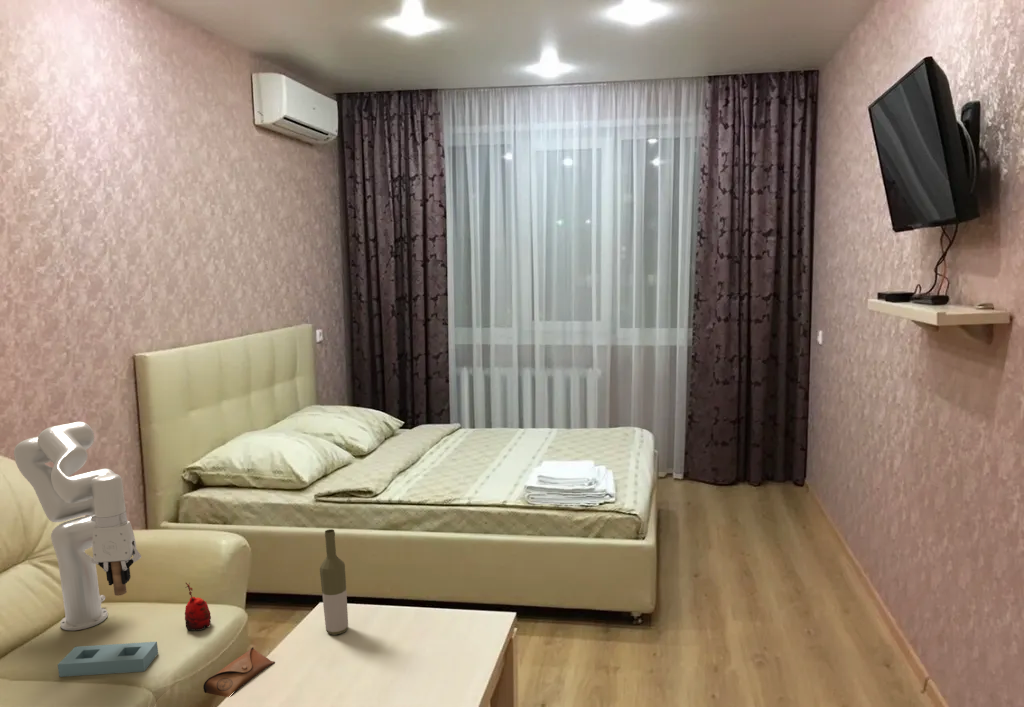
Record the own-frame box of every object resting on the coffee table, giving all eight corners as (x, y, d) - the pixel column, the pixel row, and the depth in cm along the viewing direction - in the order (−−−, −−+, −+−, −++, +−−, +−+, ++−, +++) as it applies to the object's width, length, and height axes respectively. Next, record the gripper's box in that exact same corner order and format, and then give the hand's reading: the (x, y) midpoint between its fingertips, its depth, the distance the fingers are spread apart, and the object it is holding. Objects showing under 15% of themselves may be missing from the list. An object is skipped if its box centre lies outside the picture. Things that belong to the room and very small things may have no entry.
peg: (117, 591, 215) (112, 550, 213) (128, 590, 215) (123, 549, 213) (112, 596, 212) (107, 554, 210) (123, 595, 212) (118, 553, 210)
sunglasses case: (229, 698, 189) (216, 674, 189) (212, 707, 191) (199, 683, 192) (277, 661, 205) (265, 639, 206) (260, 669, 208) (248, 647, 208)
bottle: (351, 633, 218) (344, 532, 214) (326, 639, 216) (318, 537, 211) (347, 622, 225) (339, 524, 220) (323, 628, 222) (315, 529, 218)
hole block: (76, 658, 211) (75, 646, 210) (158, 653, 212) (156, 641, 211) (59, 676, 202) (57, 664, 201) (144, 671, 203) (142, 659, 202)
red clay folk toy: (216, 624, 227) (211, 576, 225) (195, 635, 221) (190, 586, 219) (201, 618, 231) (196, 571, 229) (179, 628, 225) (174, 580, 223)
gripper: (74, 526, 206) (82, 590, 209) (136, 522, 207) (143, 586, 210) (87, 516, 214) (95, 579, 216) (147, 512, 215) (154, 575, 217)
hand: (119, 582), depth 213 cm, fingers closed on peg, 3 cm apart
